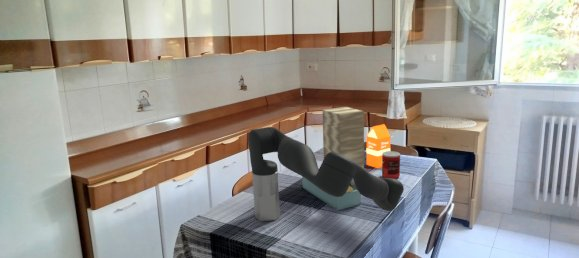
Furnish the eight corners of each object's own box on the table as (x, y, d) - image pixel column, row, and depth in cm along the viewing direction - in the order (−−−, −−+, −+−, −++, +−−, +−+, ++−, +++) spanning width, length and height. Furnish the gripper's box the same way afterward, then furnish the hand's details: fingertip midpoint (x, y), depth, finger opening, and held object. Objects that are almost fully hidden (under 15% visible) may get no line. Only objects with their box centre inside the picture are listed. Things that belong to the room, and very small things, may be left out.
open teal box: (360, 204, 160) (360, 189, 159) (337, 210, 155) (337, 195, 154) (323, 182, 184) (323, 170, 183) (302, 187, 180) (302, 174, 178)
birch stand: (364, 182, 182) (364, 111, 175) (341, 188, 177) (340, 114, 170) (346, 173, 195) (345, 106, 187) (324, 178, 190) (322, 109, 182)
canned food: (387, 172, 194) (388, 150, 191) (403, 176, 188) (403, 153, 186) (378, 177, 189) (378, 153, 186) (394, 180, 183) (394, 157, 181)
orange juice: (390, 164, 205) (390, 125, 200) (377, 168, 200) (377, 128, 196) (378, 160, 211) (378, 122, 207) (366, 164, 207) (366, 125, 202)
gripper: (375, 166, 151) (350, 155, 165) (342, 173, 145) (319, 161, 159) (375, 185, 153) (350, 173, 167) (342, 193, 147) (319, 179, 161)
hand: (335, 167), depth 163 cm, fingers open, 8 cm apart
